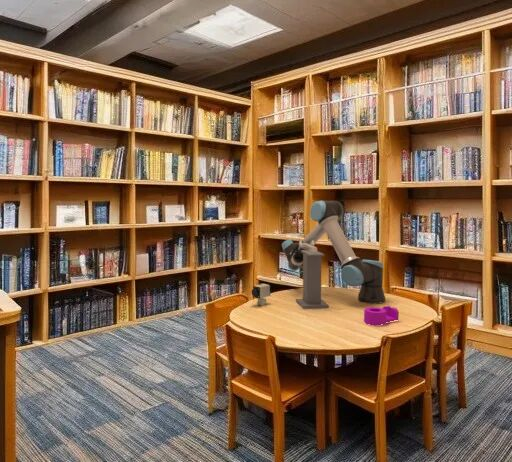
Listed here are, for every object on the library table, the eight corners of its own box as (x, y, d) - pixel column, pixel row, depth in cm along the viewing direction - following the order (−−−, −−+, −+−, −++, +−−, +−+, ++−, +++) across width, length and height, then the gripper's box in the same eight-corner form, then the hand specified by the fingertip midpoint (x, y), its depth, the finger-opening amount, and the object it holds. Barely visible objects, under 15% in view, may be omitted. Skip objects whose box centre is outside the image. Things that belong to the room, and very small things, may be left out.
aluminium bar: (317, 253, 222) (317, 247, 222) (311, 253, 222) (311, 247, 222) (306, 248, 244) (306, 243, 244) (301, 248, 244) (301, 243, 243)
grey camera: (272, 303, 231) (272, 282, 230) (257, 307, 222) (257, 285, 221) (264, 302, 234) (264, 281, 233) (250, 305, 226) (250, 284, 225)
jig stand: (329, 308, 221) (329, 254, 218) (303, 309, 219) (303, 254, 216) (319, 300, 238) (319, 249, 236) (295, 300, 236) (295, 250, 234)
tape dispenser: (374, 327, 189) (375, 314, 189) (359, 321, 198) (359, 308, 197) (399, 322, 197) (400, 309, 196) (384, 317, 206) (384, 304, 205)
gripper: (314, 262, 257) (324, 248, 236) (283, 263, 254) (291, 249, 233) (312, 251, 260) (322, 236, 239) (282, 252, 257) (289, 236, 236)
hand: (307, 242), depth 236 cm, fingers open, 6 cm apart
